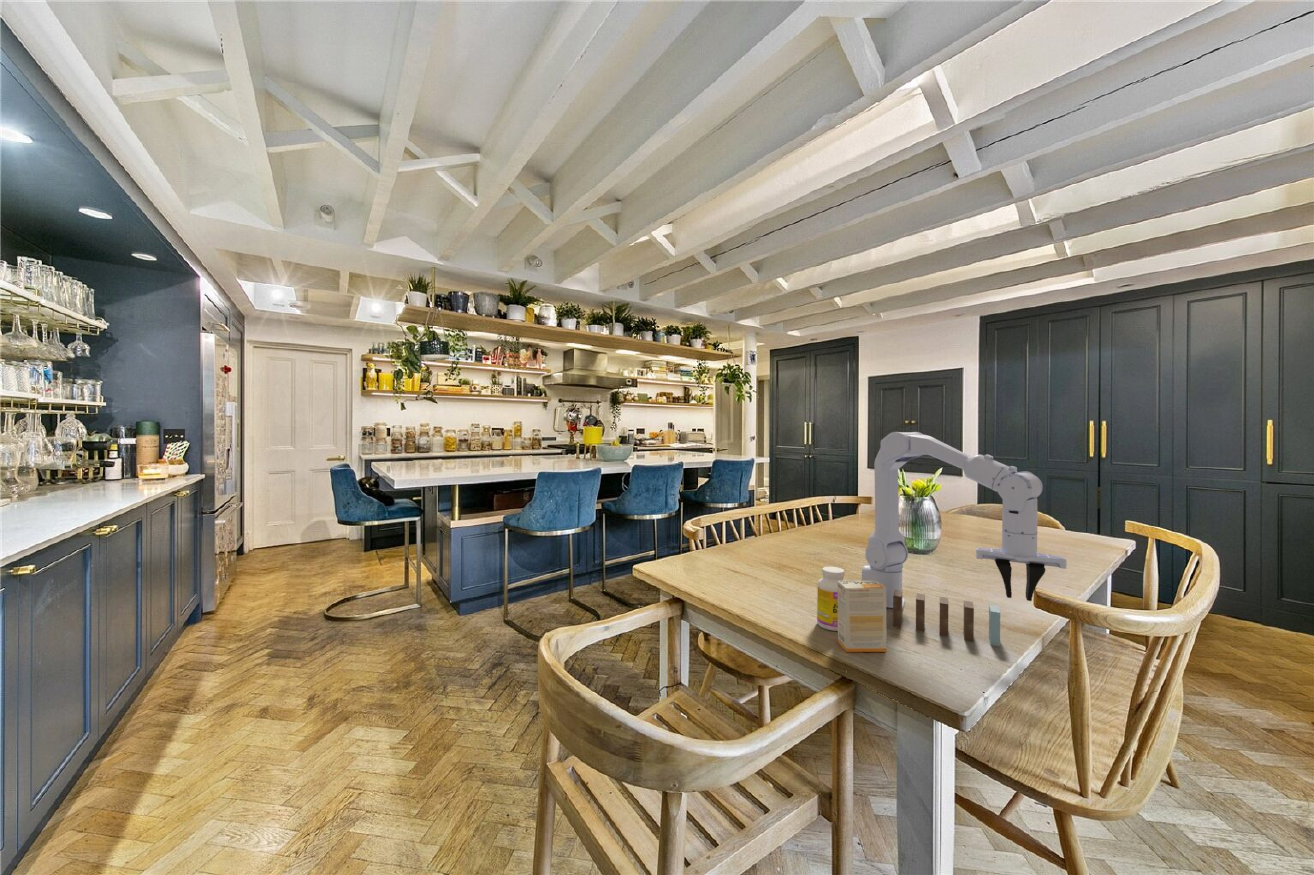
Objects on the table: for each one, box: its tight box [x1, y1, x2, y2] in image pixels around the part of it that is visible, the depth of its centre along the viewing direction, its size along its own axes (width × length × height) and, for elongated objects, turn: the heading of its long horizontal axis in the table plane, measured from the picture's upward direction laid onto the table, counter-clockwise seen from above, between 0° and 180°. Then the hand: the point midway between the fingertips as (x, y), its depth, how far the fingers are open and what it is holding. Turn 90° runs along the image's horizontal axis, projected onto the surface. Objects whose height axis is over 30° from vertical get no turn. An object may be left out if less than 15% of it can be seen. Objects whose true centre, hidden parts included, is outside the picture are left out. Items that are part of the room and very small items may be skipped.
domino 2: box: [915, 592, 926, 633], centre depth 105 cm, size 2×4×7 cm, turn 149°
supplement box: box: [837, 580, 887, 653], centre depth 96 cm, size 8×5×13 cm, turn 90°
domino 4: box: [962, 600, 975, 642], centre depth 101 cm, size 2×4×7 cm, turn 149°
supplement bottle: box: [816, 566, 845, 632], centre depth 106 cm, size 7×7×13 cm
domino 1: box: [892, 590, 903, 629], centre depth 108 cm, size 2×4×7 cm, turn 149°
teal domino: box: [988, 604, 1001, 648], centre depth 98 cm, size 2×4×7 cm, turn 149°
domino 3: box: [938, 596, 949, 638], centre depth 103 cm, size 2×4×7 cm, turn 149°
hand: (1018, 597), depth 96 cm, fingers open, 3 cm apart
